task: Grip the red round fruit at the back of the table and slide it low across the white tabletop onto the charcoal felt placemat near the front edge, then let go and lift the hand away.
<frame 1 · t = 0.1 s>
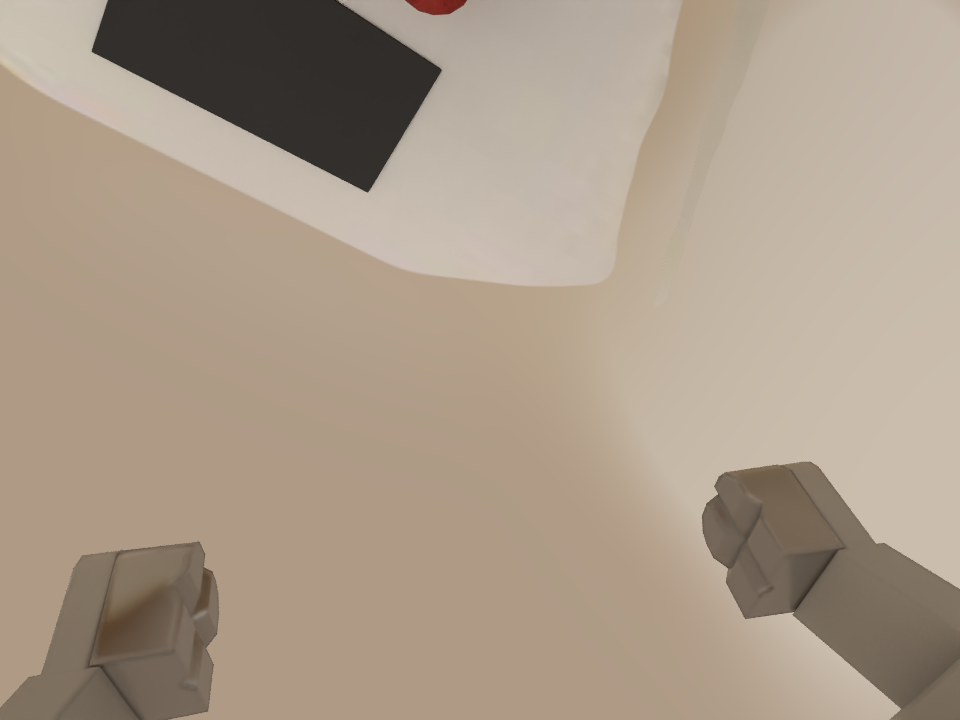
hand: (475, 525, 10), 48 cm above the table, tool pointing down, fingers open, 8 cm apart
placemat: (276, 60, 49), on the table
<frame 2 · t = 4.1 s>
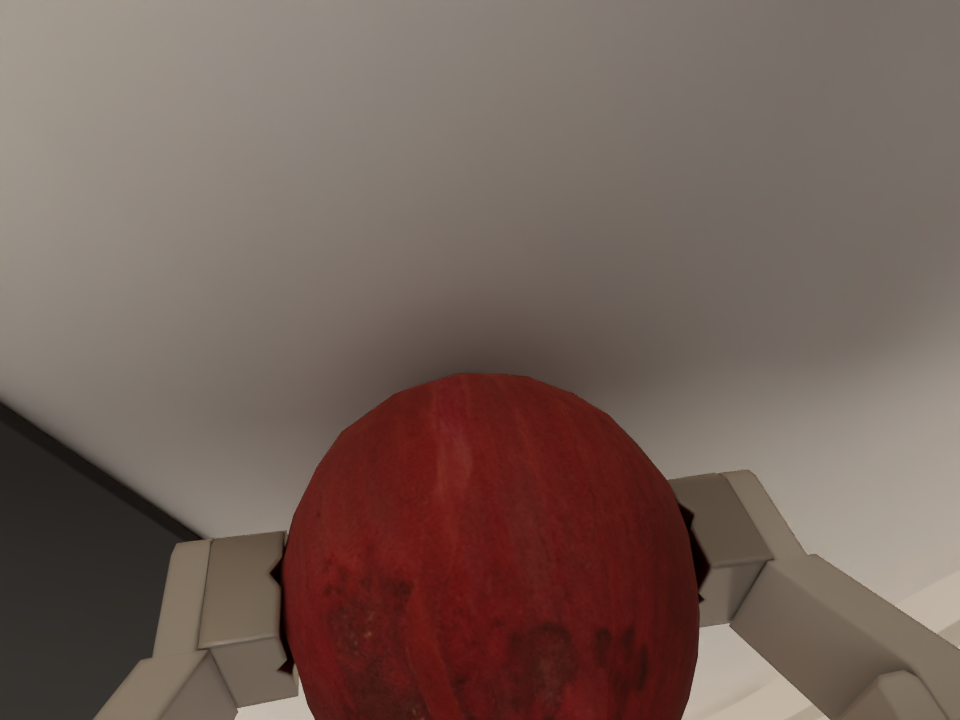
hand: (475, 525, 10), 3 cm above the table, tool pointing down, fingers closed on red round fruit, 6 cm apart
red round fruit: (448, 393, 13), on the table, touching gripper
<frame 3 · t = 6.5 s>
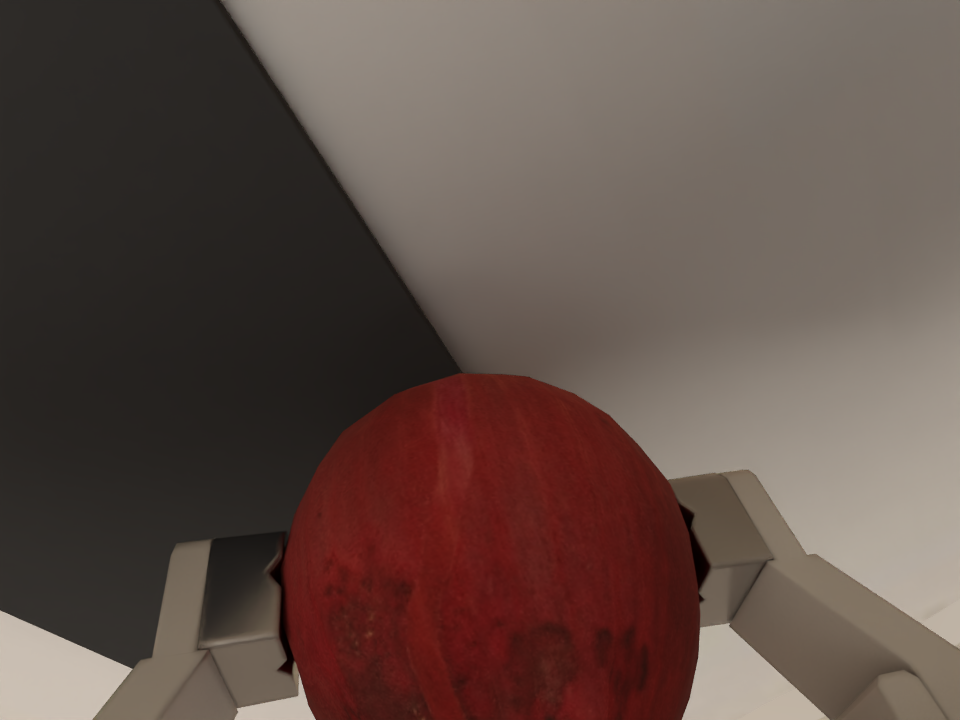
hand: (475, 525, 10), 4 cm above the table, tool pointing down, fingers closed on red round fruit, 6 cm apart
placemat: (92, 396, 12), on the table
red round fruit: (448, 393, 13), point 1 cm above the table, touching gripper
when the fingers open (3 cm above the table, at t = 9.0 s): red round fruit stays where it is, resting on placemat.
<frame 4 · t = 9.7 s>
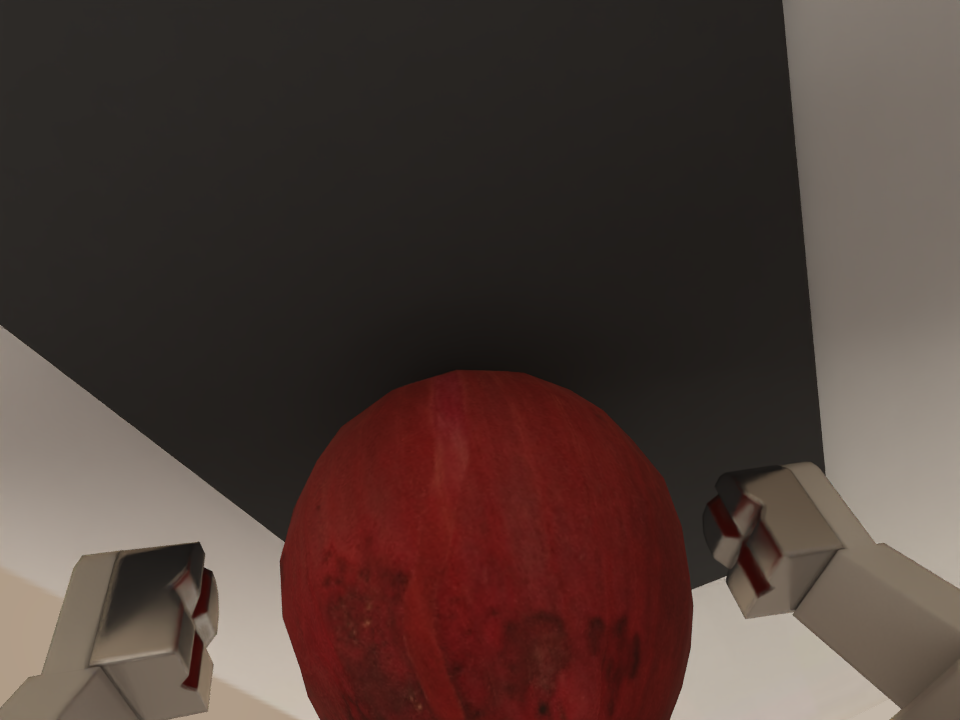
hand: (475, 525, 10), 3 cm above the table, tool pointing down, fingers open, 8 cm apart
placemat: (503, 381, 13), on the table
red round fruit: (446, 390, 13), resting on placemat
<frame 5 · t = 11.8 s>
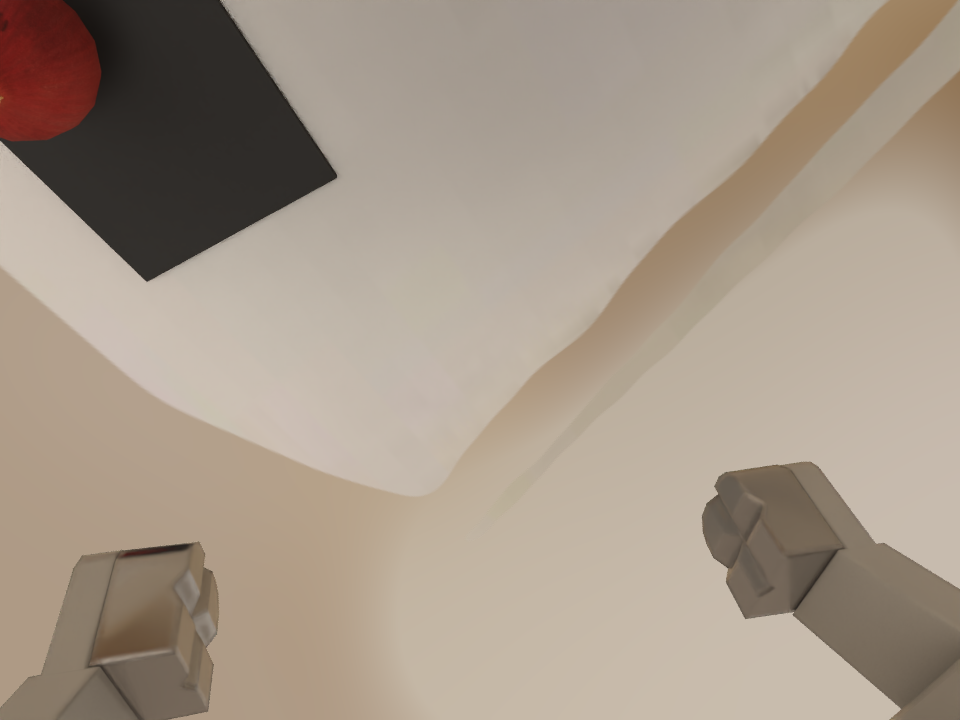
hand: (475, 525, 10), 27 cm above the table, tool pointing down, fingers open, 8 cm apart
placemat: (72, 29, 28), on the table
red round fruit: (42, 30, 28), resting on placemat
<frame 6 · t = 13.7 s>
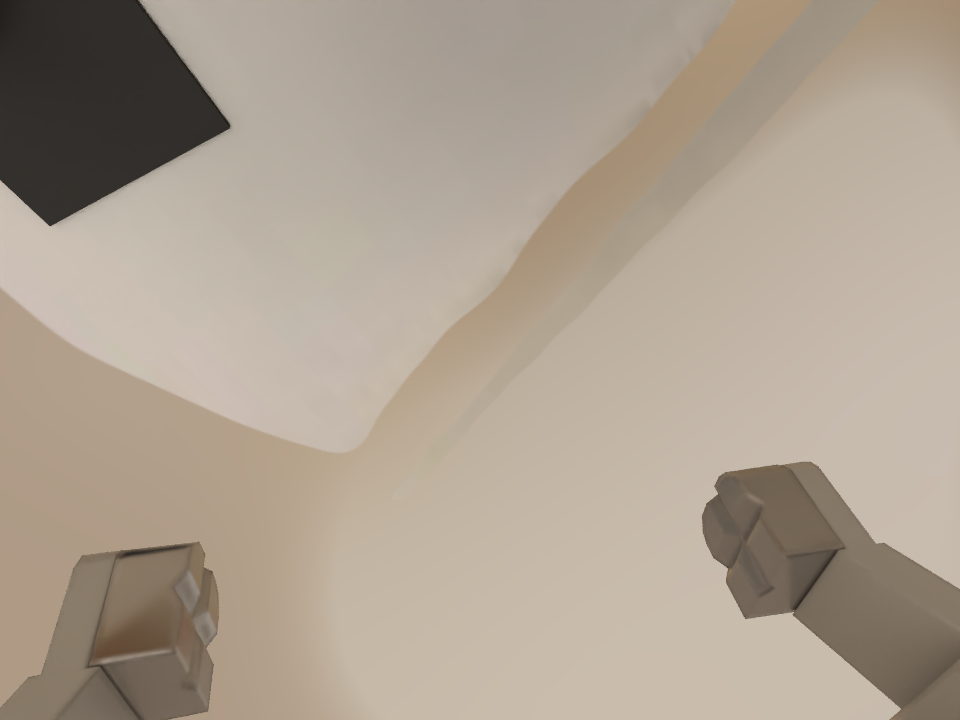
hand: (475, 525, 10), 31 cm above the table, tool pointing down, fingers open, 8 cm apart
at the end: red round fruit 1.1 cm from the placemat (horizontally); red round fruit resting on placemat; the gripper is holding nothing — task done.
